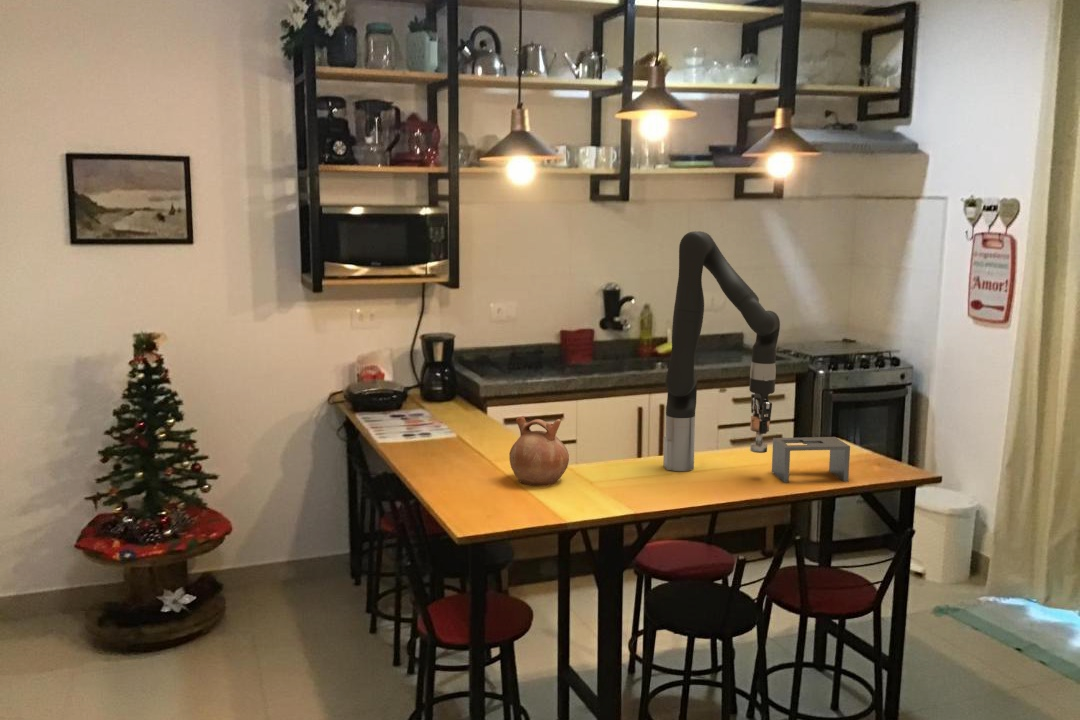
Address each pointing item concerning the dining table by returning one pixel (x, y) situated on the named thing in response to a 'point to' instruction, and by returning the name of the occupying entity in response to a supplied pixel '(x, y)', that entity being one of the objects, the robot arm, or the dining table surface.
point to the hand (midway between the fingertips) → (759, 430)
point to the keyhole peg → (758, 436)
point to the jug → (538, 454)
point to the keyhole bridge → (836, 447)
